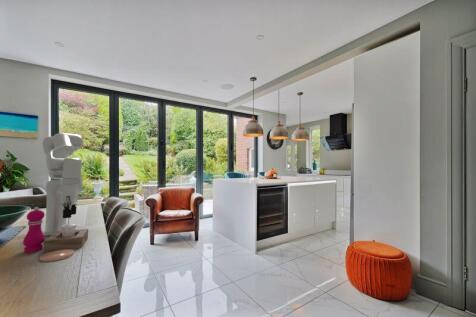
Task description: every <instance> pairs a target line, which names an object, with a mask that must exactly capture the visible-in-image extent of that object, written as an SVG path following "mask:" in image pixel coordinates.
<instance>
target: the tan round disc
mask: <svg viewBox="0 0 476 317" xmlns="http://www.w3.org/2000/svg"><path fill="white" fill-rule="evenodd" d="M74 252H75V249H63V250H57V251H52V252H45V253H44V254H42V255H40V256H39V261H40V262H41V263H42V262H43V263H50V262H57V261H62V260H66V259H67V258H70V257H72V256H74Z"/></svg>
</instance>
